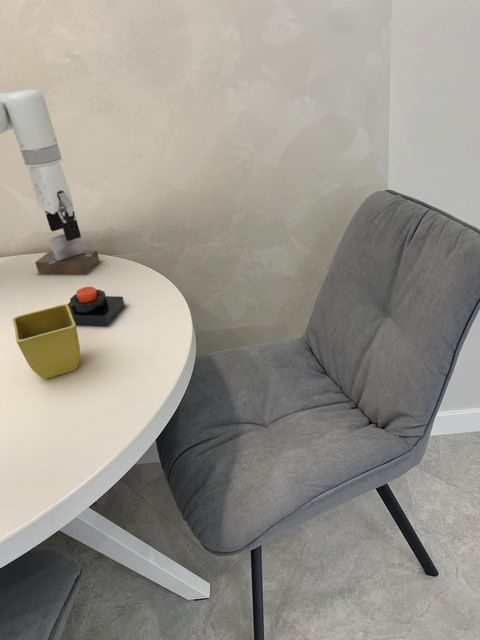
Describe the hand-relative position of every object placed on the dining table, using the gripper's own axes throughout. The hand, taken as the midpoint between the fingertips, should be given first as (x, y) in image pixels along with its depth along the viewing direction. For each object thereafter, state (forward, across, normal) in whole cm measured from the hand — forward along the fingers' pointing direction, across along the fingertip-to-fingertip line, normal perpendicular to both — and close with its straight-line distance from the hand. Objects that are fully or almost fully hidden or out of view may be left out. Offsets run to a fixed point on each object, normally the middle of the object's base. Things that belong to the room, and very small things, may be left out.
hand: (65, 234), depth 123 cm
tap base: (+8, -1, -1) cm, 8 cm away
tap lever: (+5, 0, 0) cm, 5 cm away
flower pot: (+8, +40, -19) cm, 45 cm away
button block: (+8, +26, -7) cm, 28 cm away
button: (+5, +26, -7) cm, 27 cm away
